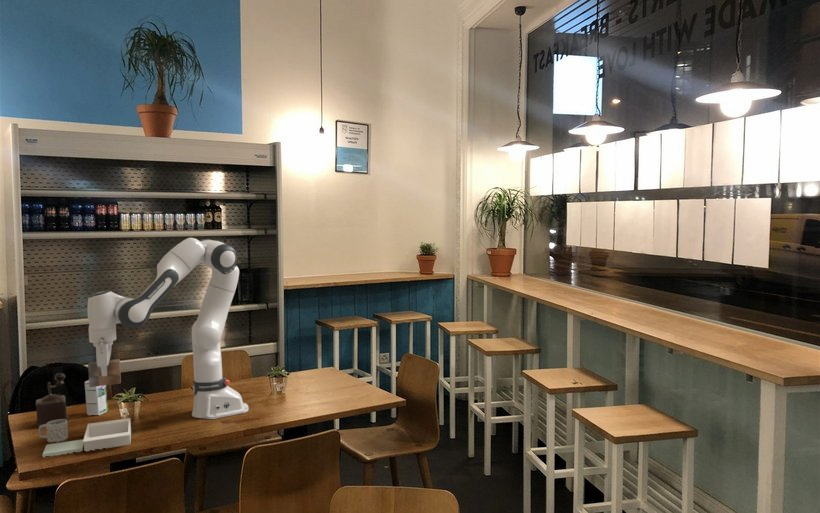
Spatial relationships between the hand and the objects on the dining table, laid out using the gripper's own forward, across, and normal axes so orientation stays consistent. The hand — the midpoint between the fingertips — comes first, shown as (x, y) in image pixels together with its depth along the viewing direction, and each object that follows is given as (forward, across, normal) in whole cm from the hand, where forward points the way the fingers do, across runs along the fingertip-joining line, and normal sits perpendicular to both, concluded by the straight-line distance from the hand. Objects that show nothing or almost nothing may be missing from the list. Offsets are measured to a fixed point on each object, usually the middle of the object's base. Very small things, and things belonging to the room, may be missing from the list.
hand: (105, 373), depth 223 cm
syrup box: (+25, +40, +6) cm, 48 cm away
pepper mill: (+25, +38, +22) cm, 51 cm away
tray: (+25, 0, 0) cm, 25 cm away
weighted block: (+4, 0, 0) cm, 4 cm away
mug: (+25, +12, +19) cm, 34 cm away
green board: (+25, -2, +14) cm, 29 cm away
